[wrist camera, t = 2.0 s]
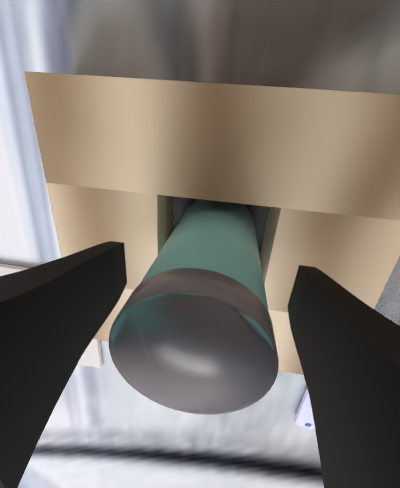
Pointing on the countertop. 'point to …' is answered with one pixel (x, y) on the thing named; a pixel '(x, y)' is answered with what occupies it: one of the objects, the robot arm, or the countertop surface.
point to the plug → (200, 317)
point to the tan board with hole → (225, 175)
